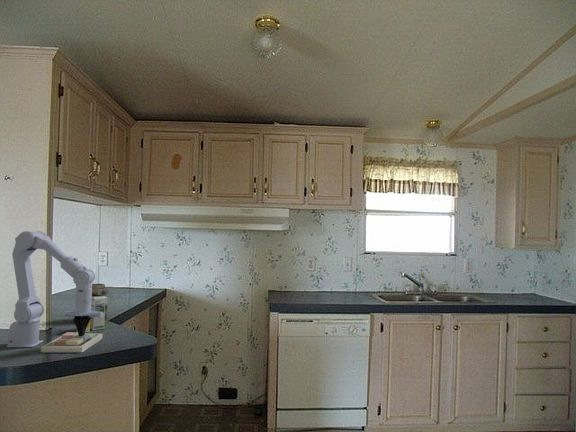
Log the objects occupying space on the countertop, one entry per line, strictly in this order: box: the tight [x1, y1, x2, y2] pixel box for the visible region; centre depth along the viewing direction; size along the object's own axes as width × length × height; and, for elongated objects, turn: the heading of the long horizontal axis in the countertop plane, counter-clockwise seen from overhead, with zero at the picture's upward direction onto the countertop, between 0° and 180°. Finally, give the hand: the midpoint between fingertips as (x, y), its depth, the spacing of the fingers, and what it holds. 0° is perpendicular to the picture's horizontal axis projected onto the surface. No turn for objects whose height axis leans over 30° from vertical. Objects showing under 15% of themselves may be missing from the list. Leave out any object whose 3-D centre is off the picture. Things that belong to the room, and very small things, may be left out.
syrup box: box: [90, 295, 109, 331], centre depth 175 cm, size 6×6×14 cm
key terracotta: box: [54, 339, 69, 346], centre depth 146 cm, size 4×4×2 cm
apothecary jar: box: [92, 283, 109, 297], centre depth 190 cm, size 12×12×18 cm
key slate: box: [73, 333, 91, 341], centre depth 149 cm, size 4×4×2 cm
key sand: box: [66, 338, 83, 345], centre depth 144 cm, size 4×4×2 cm
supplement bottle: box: [75, 321, 91, 333], centre depth 169 cm, size 5×5×10 cm
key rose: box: [61, 331, 78, 339], centre depth 152 cm, size 4×4×2 cm
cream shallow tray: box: [40, 332, 104, 354], centre depth 149 cm, size 14×19×2 cm
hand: (81, 335), depth 149 cm, fingers closed
